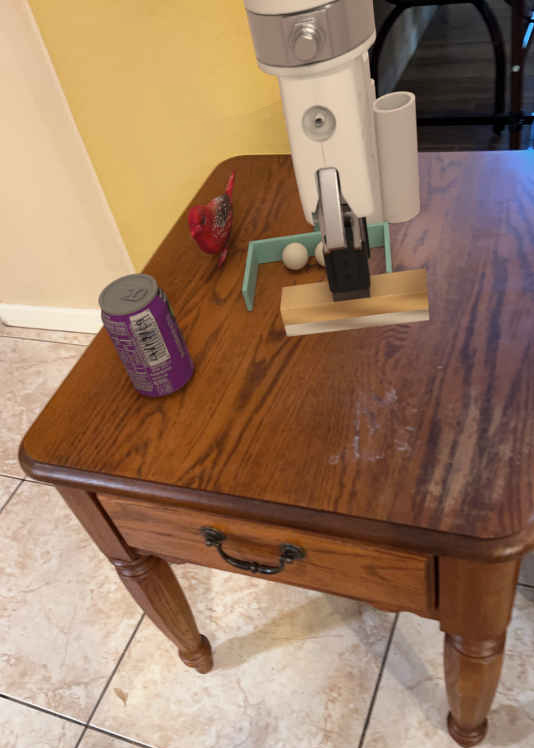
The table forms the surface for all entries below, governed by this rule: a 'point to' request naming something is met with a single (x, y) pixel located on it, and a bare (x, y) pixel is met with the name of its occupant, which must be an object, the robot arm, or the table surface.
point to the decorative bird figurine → (213, 223)
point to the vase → (394, 154)
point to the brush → (356, 302)
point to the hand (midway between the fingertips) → (350, 272)
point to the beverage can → (146, 334)
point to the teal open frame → (274, 248)
